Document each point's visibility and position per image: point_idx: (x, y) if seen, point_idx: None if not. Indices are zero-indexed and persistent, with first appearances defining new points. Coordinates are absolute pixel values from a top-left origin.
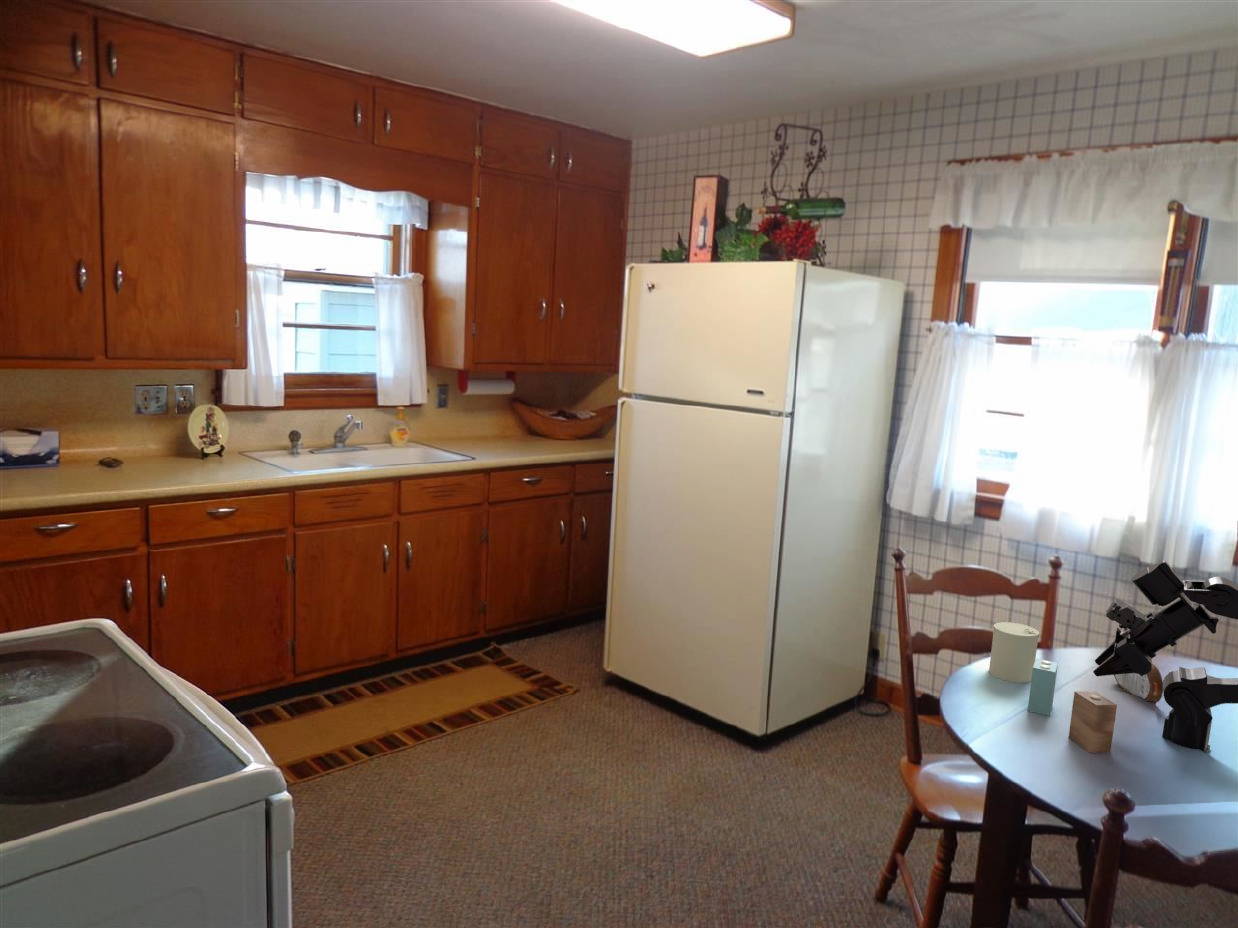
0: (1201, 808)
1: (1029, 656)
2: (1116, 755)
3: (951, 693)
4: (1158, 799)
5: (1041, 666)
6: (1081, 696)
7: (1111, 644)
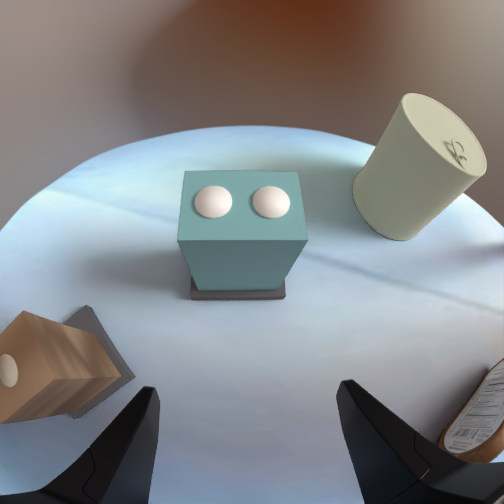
0: (19, 489)
1: (411, 191)
2: (100, 425)
3: (234, 127)
4: (3, 443)
5: (206, 191)
6: (6, 330)
7: (420, 460)
